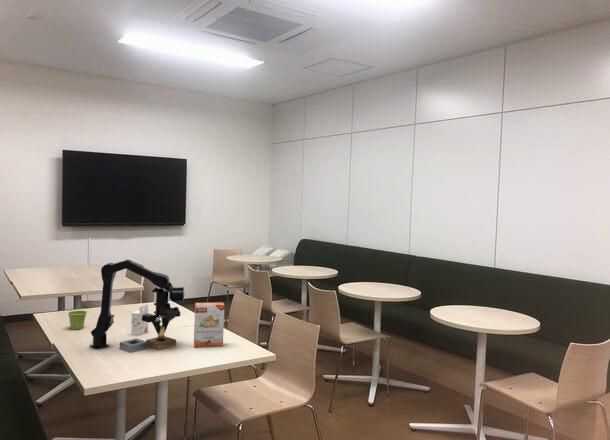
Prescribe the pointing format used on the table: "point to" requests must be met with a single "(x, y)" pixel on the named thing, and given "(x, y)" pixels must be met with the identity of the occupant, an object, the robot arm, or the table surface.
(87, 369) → the table surface
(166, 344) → the brown square frame
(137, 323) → the ink cartridge box
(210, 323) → the cracker box
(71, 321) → the plant pot
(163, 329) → the brass peg
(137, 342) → the socket block
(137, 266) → the robot arm
